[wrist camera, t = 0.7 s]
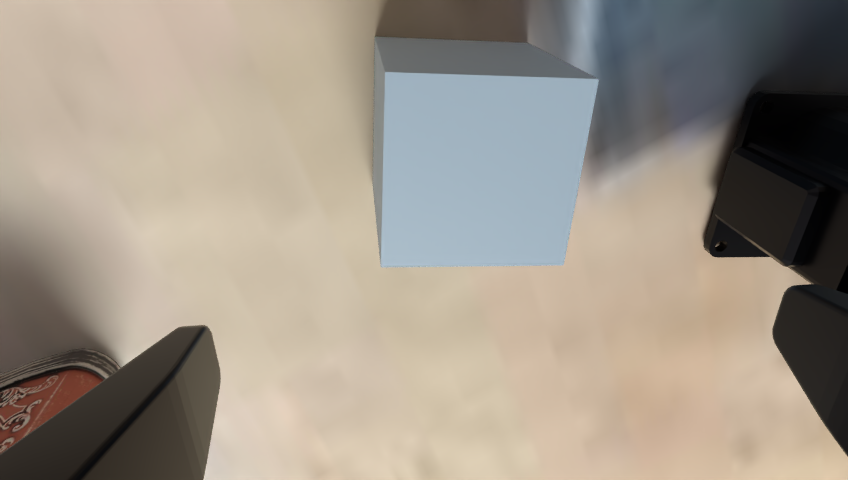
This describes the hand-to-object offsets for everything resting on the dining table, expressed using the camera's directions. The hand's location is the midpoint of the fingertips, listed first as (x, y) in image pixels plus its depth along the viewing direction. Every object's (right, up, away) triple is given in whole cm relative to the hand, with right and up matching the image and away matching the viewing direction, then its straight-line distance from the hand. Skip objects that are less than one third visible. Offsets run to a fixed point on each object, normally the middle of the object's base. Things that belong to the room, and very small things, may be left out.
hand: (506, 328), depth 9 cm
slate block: (-1, +6, +11) cm, 12 cm away
